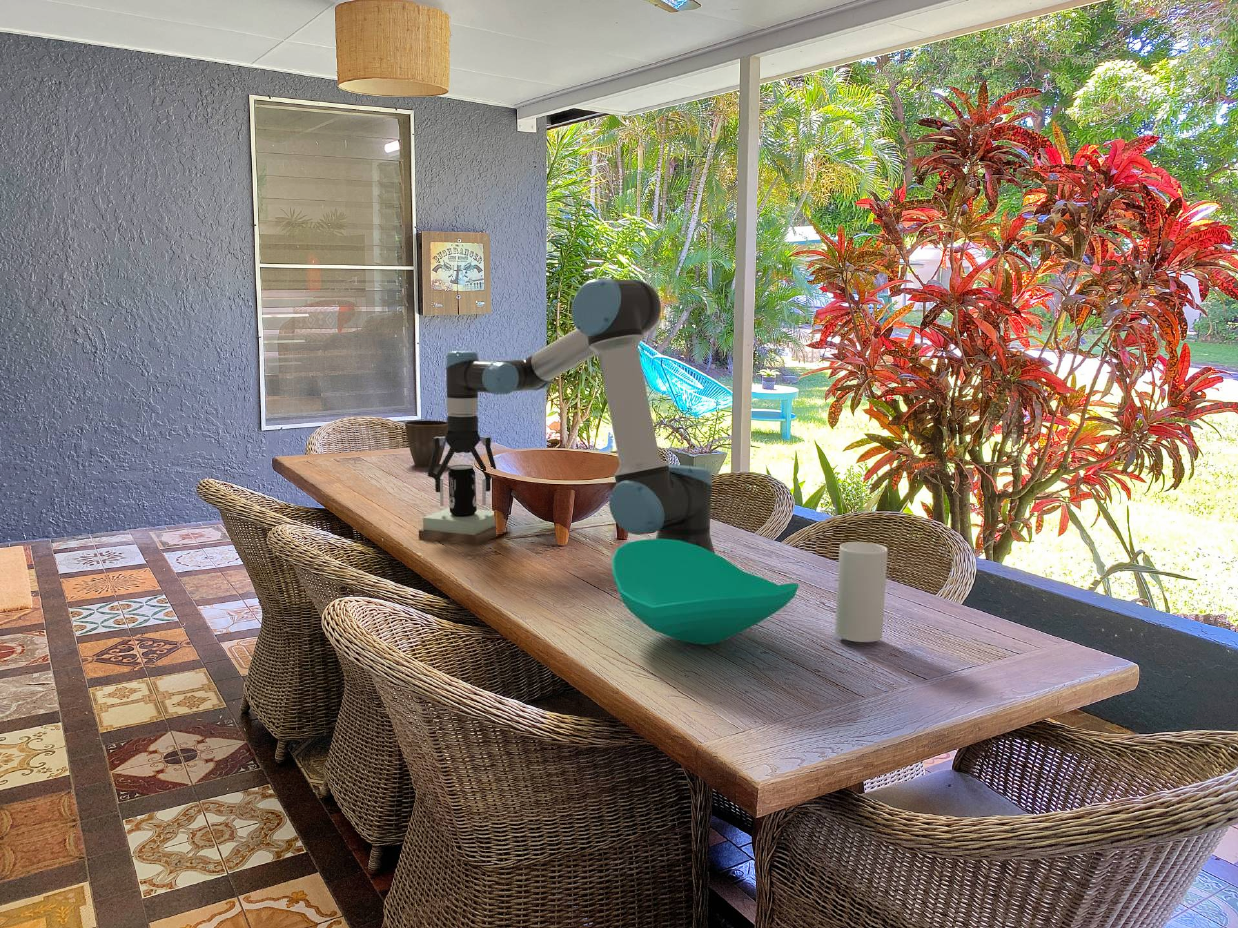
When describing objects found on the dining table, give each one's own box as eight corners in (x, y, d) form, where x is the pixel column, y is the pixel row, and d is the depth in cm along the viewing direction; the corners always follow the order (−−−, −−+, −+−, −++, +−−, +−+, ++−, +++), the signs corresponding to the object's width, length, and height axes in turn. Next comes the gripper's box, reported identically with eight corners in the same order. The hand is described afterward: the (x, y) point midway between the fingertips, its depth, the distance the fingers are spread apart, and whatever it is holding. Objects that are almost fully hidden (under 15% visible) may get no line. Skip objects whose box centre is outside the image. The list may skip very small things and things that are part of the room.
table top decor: (576, 616, 182) (577, 547, 179) (698, 596, 196) (700, 532, 194) (700, 690, 148) (703, 605, 146) (837, 659, 162) (841, 582, 160)
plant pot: (436, 463, 350) (435, 419, 347) (457, 469, 339) (456, 423, 336) (397, 467, 341) (397, 421, 338) (418, 473, 329) (417, 426, 327)
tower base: (507, 534, 248) (506, 522, 248) (477, 548, 233) (477, 536, 233) (451, 528, 253) (450, 517, 253) (418, 542, 238) (418, 530, 238)
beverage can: (471, 517, 239) (469, 469, 236) (446, 516, 240) (443, 468, 238) (480, 511, 245) (478, 464, 243) (455, 510, 246) (453, 463, 244)
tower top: (500, 523, 247) (500, 511, 247) (474, 535, 234) (474, 522, 234) (451, 518, 252) (451, 506, 251) (423, 529, 239) (423, 517, 238)
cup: (847, 623, 181) (852, 539, 178) (889, 633, 175) (895, 547, 173) (826, 634, 174) (831, 547, 172) (869, 645, 169) (875, 555, 167)
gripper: (507, 413, 244) (507, 500, 247) (416, 413, 240) (417, 502, 243) (509, 416, 237) (509, 506, 240) (415, 416, 233) (416, 508, 236)
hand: (463, 504), depth 242 cm, fingers open, 10 cm apart
